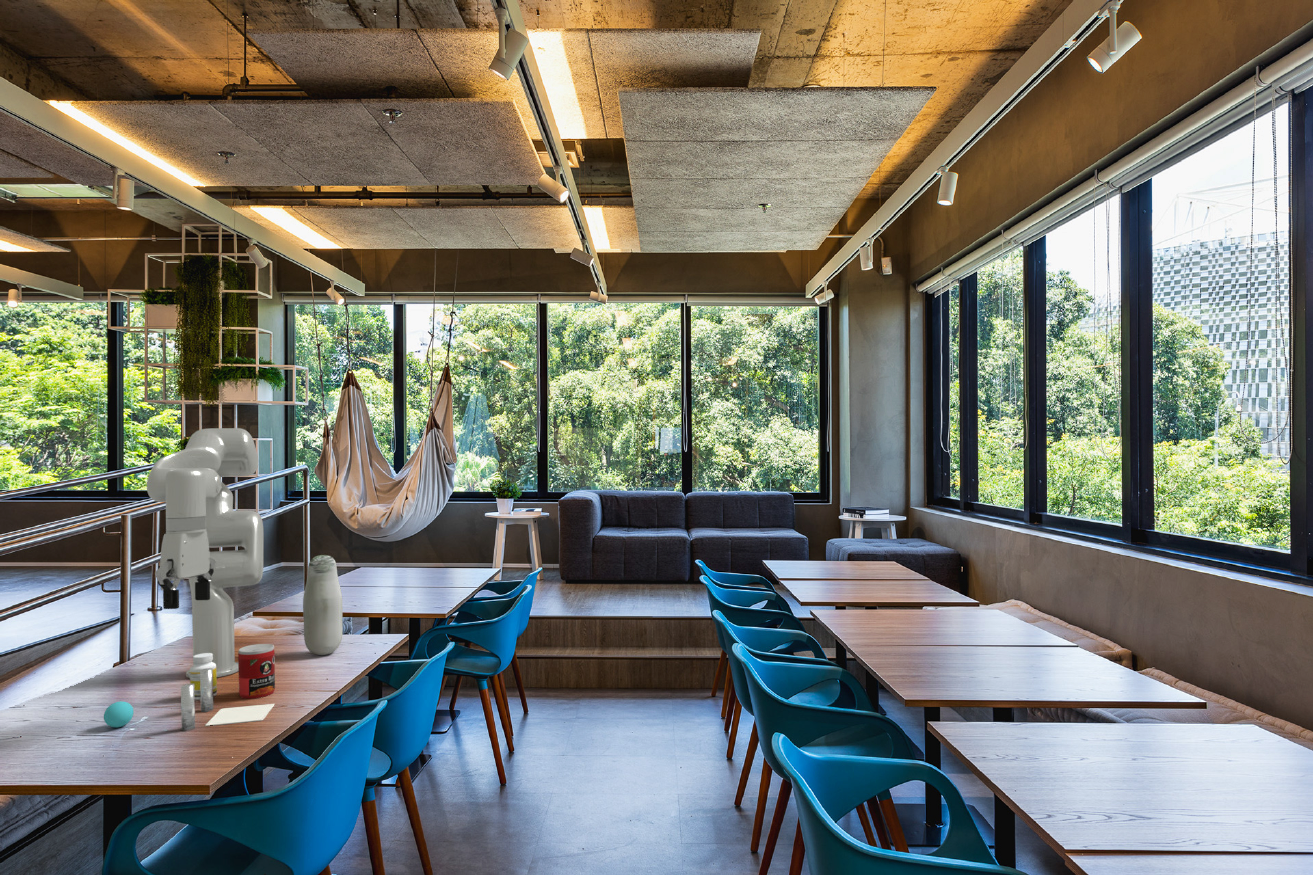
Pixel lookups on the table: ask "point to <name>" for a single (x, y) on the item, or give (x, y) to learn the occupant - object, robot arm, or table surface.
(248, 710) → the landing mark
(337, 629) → the grey bottle
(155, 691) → the table surface
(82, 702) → the table surface
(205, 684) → the post
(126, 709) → the ball
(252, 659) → the canned food
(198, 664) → the supplement bottle
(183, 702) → the post
